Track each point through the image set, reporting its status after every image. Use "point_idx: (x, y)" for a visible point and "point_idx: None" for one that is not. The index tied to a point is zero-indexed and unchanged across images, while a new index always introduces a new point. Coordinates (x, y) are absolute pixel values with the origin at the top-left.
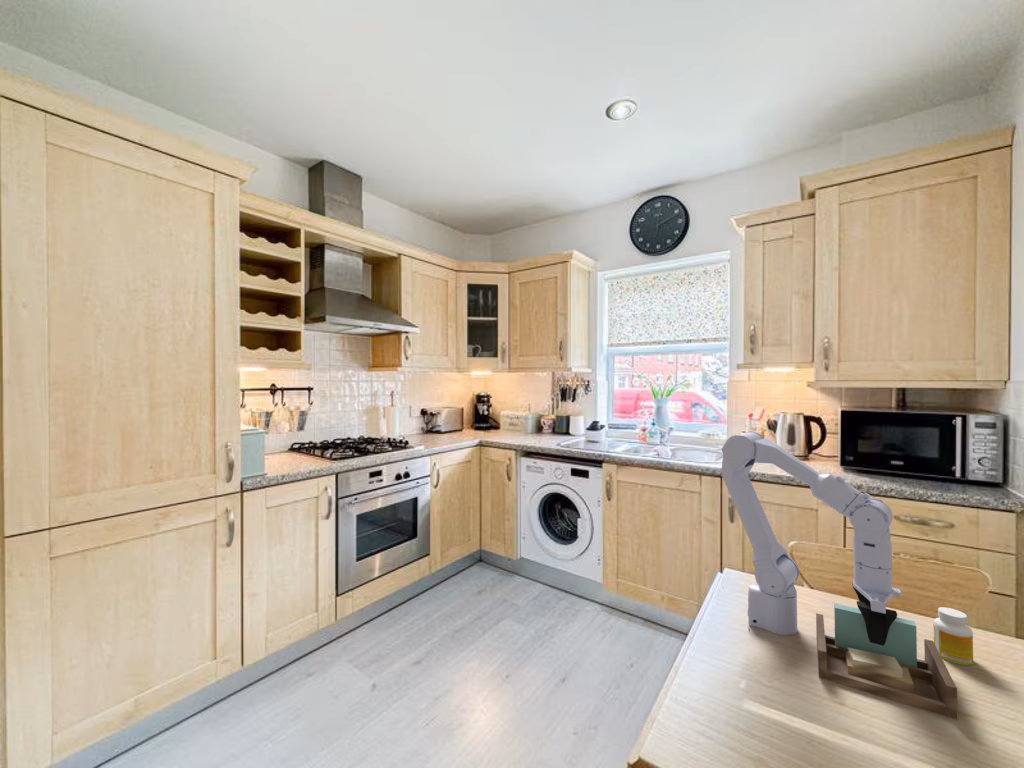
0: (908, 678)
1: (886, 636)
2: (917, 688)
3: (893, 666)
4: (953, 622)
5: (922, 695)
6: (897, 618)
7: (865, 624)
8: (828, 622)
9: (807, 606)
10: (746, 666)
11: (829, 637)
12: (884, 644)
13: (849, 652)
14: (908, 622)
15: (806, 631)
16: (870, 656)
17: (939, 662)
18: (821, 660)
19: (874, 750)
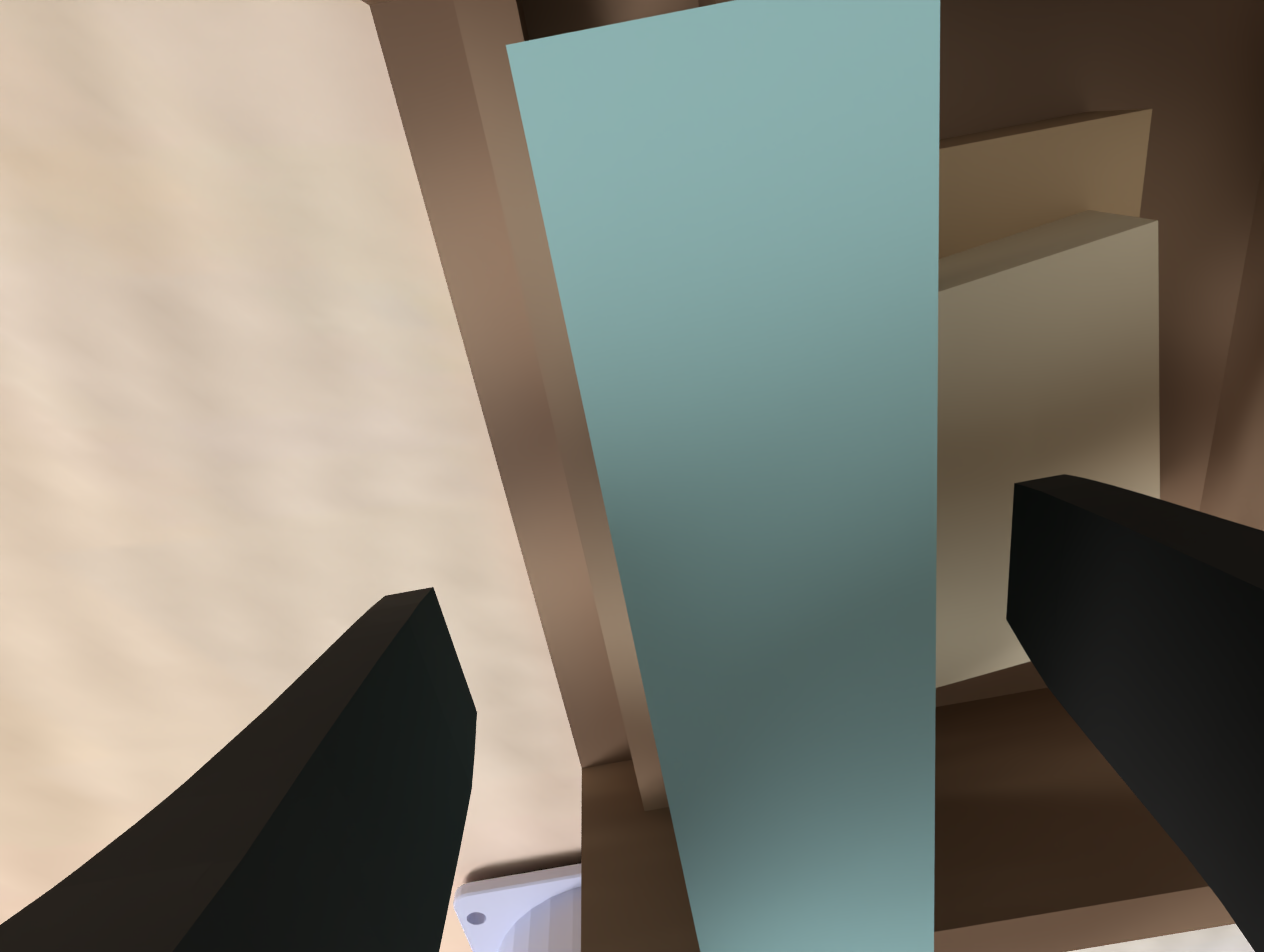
0: (1051, 159)
1: (1228, 525)
2: (980, 78)
3: (1113, 313)
4: None
5: (1098, 32)
6: (668, 488)
7: (1187, 847)
8: (162, 769)
9: (16, 910)
10: (1188, 937)
11: (660, 775)
12: (1078, 477)
13: (1006, 659)
14: (763, 214)
15: (484, 837)
16: (1011, 518)
17: None
18: None
19: None
